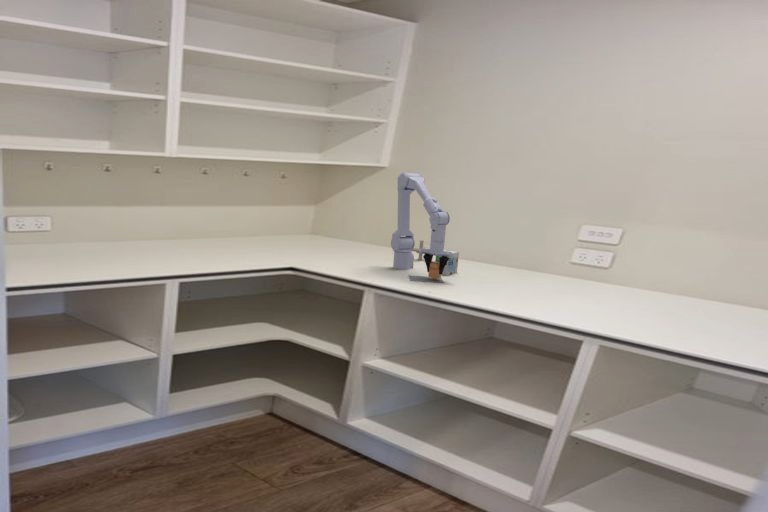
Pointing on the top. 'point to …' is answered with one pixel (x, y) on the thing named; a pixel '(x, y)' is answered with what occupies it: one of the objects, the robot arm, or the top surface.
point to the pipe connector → (419, 249)
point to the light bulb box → (450, 263)
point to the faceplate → (425, 279)
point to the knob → (434, 270)
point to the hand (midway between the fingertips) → (434, 272)
